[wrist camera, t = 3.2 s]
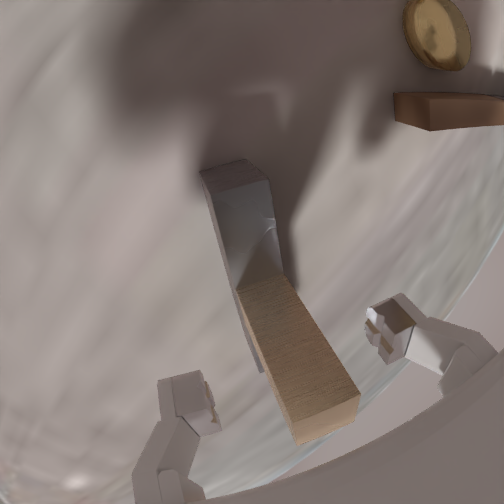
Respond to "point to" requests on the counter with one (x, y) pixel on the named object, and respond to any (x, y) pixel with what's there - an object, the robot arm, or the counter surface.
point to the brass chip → (437, 34)
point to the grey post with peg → (275, 306)
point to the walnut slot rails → (447, 110)
